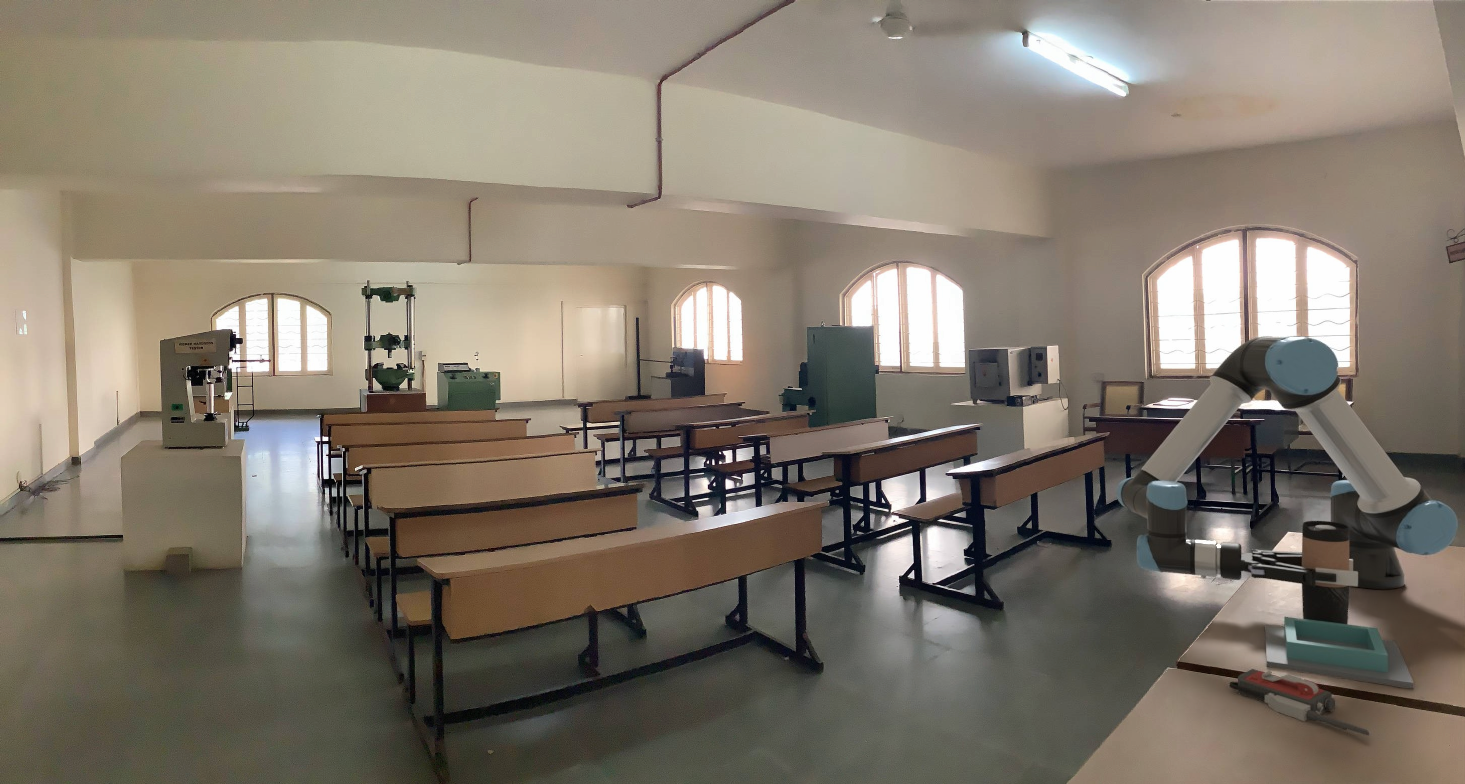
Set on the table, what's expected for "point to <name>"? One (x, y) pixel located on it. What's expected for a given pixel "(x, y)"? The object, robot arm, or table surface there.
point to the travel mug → (1330, 551)
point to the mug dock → (1336, 652)
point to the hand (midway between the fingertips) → (1355, 572)
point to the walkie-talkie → (1291, 697)
